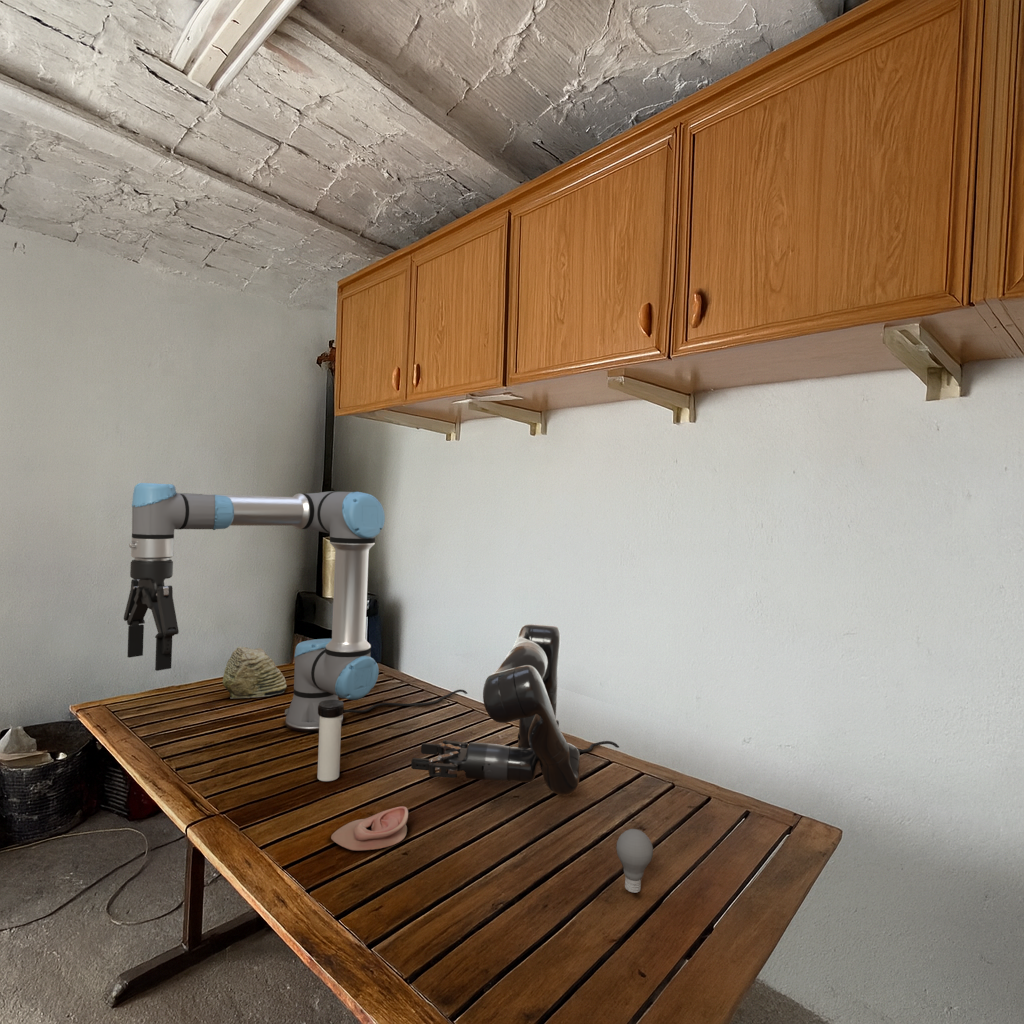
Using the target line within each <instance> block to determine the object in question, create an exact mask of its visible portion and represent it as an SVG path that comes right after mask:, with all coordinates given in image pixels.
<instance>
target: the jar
mask: <svg viewBox="0 0 1024 1024" xmlns="http://www.w3.org/2000/svg"><path fill="white" fill-rule="evenodd" d="M341 718H342V715H341V716H338V717H332V718H326V717H321V716H320V721H319V731H318V749H317V773H316V775H317V780H319V781H321V782H332V781H335V780H337V779H338V778H340V769H341V743H342V742H341V741H342V740H341V739H342V723H341Z"/></svg>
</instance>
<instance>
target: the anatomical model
mask: <svg viewBox="0 0 1024 1024" xmlns="http://www.w3.org/2000/svg"><path fill="white" fill-rule="evenodd" d="M408 819H409V809H408V808H407V807H406V806H405V805H404V806H402V805H401V806H396V807H393V808H389V809H386V810H382V811H381V812H378V813H376V814H373V815H371V816H369V817H365V818H360V819H356V820H352V821H350V822H348V823H345V824H344V825H343V826H341V827H339V828H337V830H335V831H334V832H333V833H332V834H331V836H330V839H331V841H333V843H336V845H338V846H339V847H342V848H344V849H347V850H350V851H357V852H359V851H371V850H379V849H383V848H388V847H392V846H394V845H396V844H399V843H400V842H402V841H403V840H404V839H405V838H406V836H407V832H408V827H407V822H408Z"/></svg>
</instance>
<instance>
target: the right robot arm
mask: <svg viewBox="0 0 1024 1024" xmlns="http://www.w3.org/2000/svg"><path fill="white" fill-rule="evenodd" d="M561 637H562V636H561V631H560V629H559V627H558V626H556V625H550V624H549V625H548V624H536V623H535V624H533V623H528V624H524V625H522V627H520V629H519V631H518V633H517V636H516V639H515V642H514V644H513V646H512V648H511V649H510V650H509V651H508V653H507V654H506V656H505V658H504V659H503V661H502V662H501V664H500V665H499V667H498V668H497V669H496V670H494V671H493V672H492V673H490V674H489V675H488V676H487V678H486V679H485V681H484V684H483V688H482V689H483V690H482V702H483V707H484V710H485V712H486V713H487V715H488V716H489V717H490V719H491V720H493V721H494V722H496V723H500V724H506V723H511V722H515V721H519V723H518V734H517V742H518V743H517V746H509V745H504V744H499V743H487V742H474V741H471V742H469V743H468V742H467V741H456V740H446V739H444V740H442V742H439V743H427V742H422V743H421V745H420V753H421V754H422V755H431V756H432V755H434V756H437V757H436V758H435V757H434V758H430V759H429V758H423V757H413V758H412V759H411V763H410V767H411V769H412V770H417V771H418V770H419V771H428V775H429V777H434V778H447V779H450V778H451V779H457V778H458V773H459V772H462V771H463V772H464V775H465V777H466V779H469V780H471V779H472V780H482V781H491V782H492V781H493V782H503V781H505V782H519V783H531V782H533V781H534V779H535V778H536V774H537V771H538V769H539V767H540V770H541V773H542V777H543V781H544V783H545V784H546V786H547V788H548V789H549V790H550V791H551V792H552V793H554V794H556V795H559V796H569V795H571V794H573V793H574V792H576V790H578V787H579V784H580V764H581V753H582V754H583V753H589V752H591V751H592V750H593V748H594V747H598V746H602V745H611V746H614V747H615V748H616V749H617V748H620V746H619V744H617V743H616V742H614V741H611V740H603V741H598V742H594V743H591V744H590V745H589V748H584V749H578V747H576V746H575V745H574V744H572V743H571V742H570V743H569V742H567V740H566V738H565V736H564V734H563V733H562V731H561V729H560V722H559V719H557V702H558V683H559V682H558V679H559V662H560V653H561V640H562V638H561Z"/></svg>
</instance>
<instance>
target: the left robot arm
mask: <svg viewBox="0 0 1024 1024" xmlns="http://www.w3.org/2000/svg"><path fill="white" fill-rule="evenodd" d="M385 515H386V513H385V511H384V508H383V505H382V503H381V502H380V501H379V500H378V498H377V497H375V495H373V494H370V493H367V492H363V491H362V492H361V491H337V490H336V491H335V490H333V491H332V490H330V491H321V492H311V493H295V494H294V495H293V496H276V495H275V496H274V495H273V496H272V495H248V494H247V495H246V494H244V495H243V494H220V493H219V494H218V493H217V494H216V493H215V494H214V493H189V492H187V493H186V492H177V491H176V486H175V485H174V484H173V483H152V482H139V483H137V484H136V485H135V486H134V488H133V492H132V501H131V520H132V521H131V542H130V543H128V547H129V548H130V549H131V550H130V556H131V558H133V559H132V560H131V561H130V567H129V568H130V571H129V574H130V575H129V576H130V578H131V581H130V590H129V594H128V598H127V603H126V607H125V610H124V615H123V621H124V622H126V624H127V626H128V629H127V630H128V631H127V658H135V657H142V656H144V635H145V634H144V630H145V625H144V624H145V623H146V621H145V619H144V618H145V616H146V615H147V612H148V609H149V610H151V613H152V618H153V620H154V624H155V627H156V631H157V633H156V635H155V636H154V638H155V661H154V663H155V665H154V668H155V669H154V670H155V671H157V672H159V671H164V670H169V669H172V659H173V657H172V655H173V637H175V636H176V635H179V632H180V631H179V625H178V619H177V615H176V614H177V613H176V609H175V603H174V597H173V595H174V593H173V585H165V580H167V579H171V578H172V577H173V575H174V573H173V572H174V561H173V560H172V559H171V558H173V557H174V554H175V553H174V552H175V530H213V531H215V530H224V529H228V528H230V526H233V527H234V526H237V527H238V526H240V527H243V526H246V527H247V526H249V527H250V526H258V527H259V526H268V527H269V526H276V527H277V526H282V527H284V526H285V527H286V526H287V527H288V526H289V527H290V526H291V527H293V528H294V529H296V530H308V531H309V530H310V531H316V532H319V533H325V534H329V544H330V545H331V546H332V547H333V548H334V550H335V551H334V572H333V573H334V577H333V599H332V625H331V626H332V627H331V638H317V639H308V640H304V641H300V642H299V643H297V645H296V646H295V650H294V655H293V657H294V672H293V673H294V674H293V695H292V696H293V697H292V699H291V702H290V704H289V707H288V708H286V709H284V716H285V726H286V728H287V729H289V730H291V731H294V732H295V731H296V732H301V733H316V732H318V733H319V721H320V716H319V715H318V706H319V703H320V702H322V701H325V700H340V699H339V698H341V699H342V700H343V699H344V700H348V701H349V700H350V701H357V700H360V699H362V698H364V697H365V696H367V695H368V694H370V692H371V690H372V689H374V687H375V685H376V683H377V682H378V678H379V674H380V672H379V671H380V670H379V669H380V668H379V665H378V663H377V662H376V660H375V659H374V657H371V652H372V649H371V648H372V644H371V643H370V642H368V640H367V639H366V631H367V607H368V606H367V605H368V604H367V602H368V582H369V581H368V579H369V555H370V553H369V552H370V550H371V548H372V547H374V545H375V544H376V536H378V535H379V534H380V533H381V530H383V528H384V526H385V522H386V521H385V520H386V516H385ZM457 693H464V695H467V694H468V692H467V691H466V690H465V689H456V690H454V691H452V692H450V693H448V694H445V695H442V696H441V697H440V698H438V699H436V700H432V701H427V702H415V703H413V702H411V703H402V702H401V703H397V702H381V703H376V704H373V705H371V706H369V707H368V708H366V709H359V710H358V709H344V713H355V714H364V713H367V712H369V711H371V710H373V709H375V708H377V707H382V706H392V707H394V706H395V707H420V706H428V705H434V704H436V703H439V702H440V701H442V700H444V699H446V698H448V697H451V696H453V695H454V694H455V695H456V694H457ZM344 713H343V714H342V718H341V724H342V723H343V722H344Z"/></svg>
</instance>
